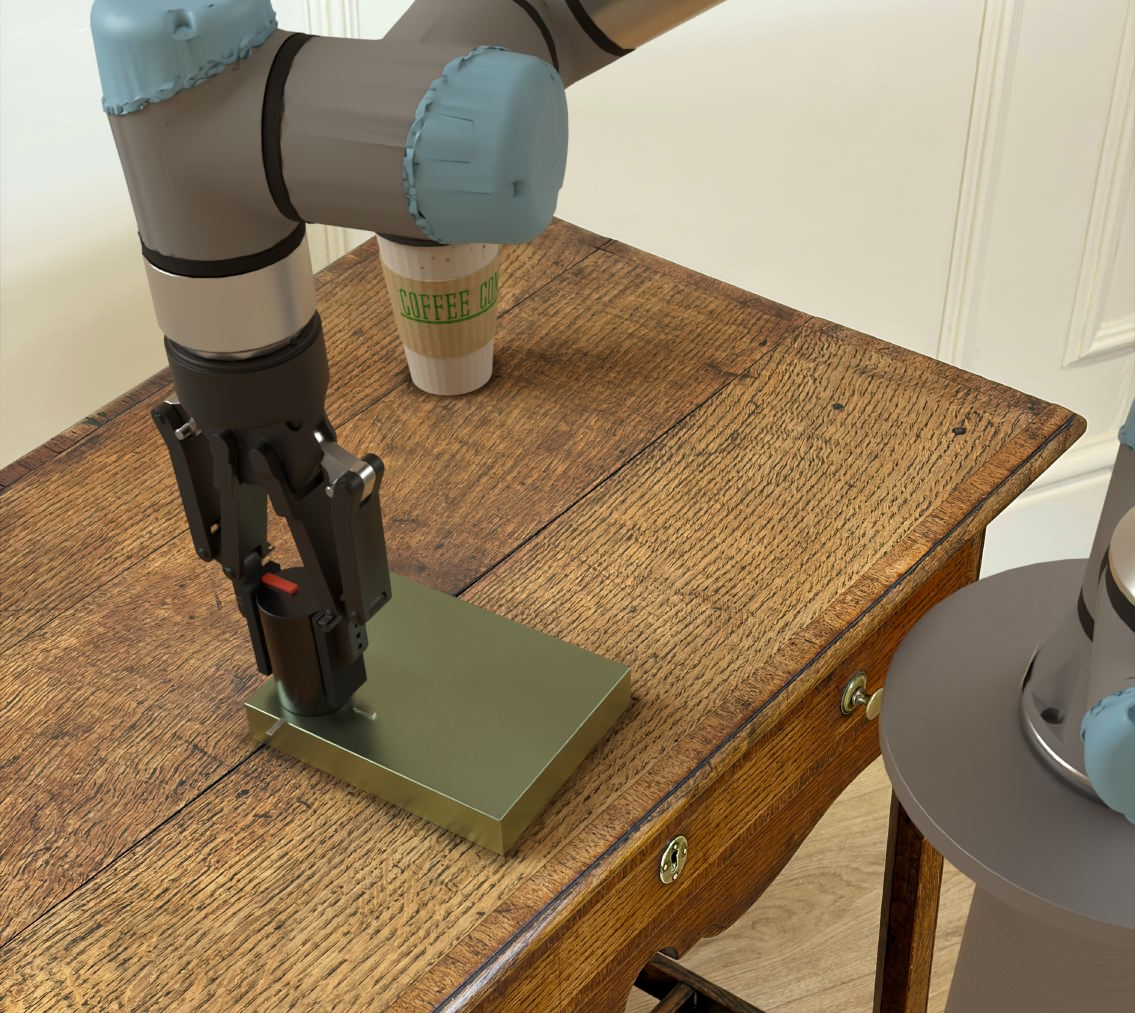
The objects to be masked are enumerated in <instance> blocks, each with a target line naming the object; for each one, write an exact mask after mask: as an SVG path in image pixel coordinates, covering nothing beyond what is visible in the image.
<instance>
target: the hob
mask: <svg viewBox="0 0 1135 1013" xmlns="http://www.w3.org/2000/svg"><path fill="white" fill-rule="evenodd" d="M389 575H390V583H391V591H392V598H391V599H390V600H389V601H388V602H387V603H386V604H385V605H384V606H383V607H382V608H381V609H380V610H379V611H378V612H377V613H376V614H375V615H374V616H373V617H372V618H371V619H370V620H369V621H368V622H367V623H366V631H367V636H368V642H369V644H368V647H367V649H366V650H365V651H364V652H363V657H364V663H365V669H366V675H367V681H366V682H365V683H364V684H363V685H362V686H361V687H360V688H359V689H358V690H357V691H356V692H355V693H354V694H353V695H352V696H351V697H350V698H349V699H348V700H347V701H346V702H345V703H344V704H343V705H342V706H340V707H339V708H337V709H335V710H333V711H331V712H329V713H325V714H321V715H314V716H307V715H300V714H296V713H293V712H291V711H289V710H288V709H286V708H285V707H284V706H283V705H282V704H281V702H280V700H279V698H278V693H277V689H276V685H275V680H274V676H273V675H271V677H270V678H269V679H268V680H267V681H266V682H265V683H264V684H263V685H262V686H261V687H260V688H259V689H258V690H256V691H255V692H254V693H253V694H252V695H251V696H250V697H248V698H247V700H246V701H245V702H244V703H243V705H244V708H245V713H246V717H247V721H248V725H249V728H250V732H251V733H250V734H251V737H252V739H253V740H255V741H257V742H259V743H261V744H264V745H266V746H268V747H270V748H272V749H275V751H276V750H277V751H279V752H281V753H283V754H285V755H287V756H289V757H291V758H293V759H296V760H298V761H300V762H302V763H304V764H306V765H309V766H311V767H313V768H315V769H317V770H318V771H321V772H323V773H325V774H328V775H330V776H332V777H334V778H336V779H338V780H340V781H342V782H344V783H347V784H349V785H351V786H353V787H355V788H357V789H360V790H361V791H364V792H366V793H368V794H370V795H372V796H374V797H376V798H379V799H381V800H383V801H385V802H386V803H389V804H391V805H394V806H395V807H398V808H399V809H402V810H404V811H406V812H408V813H410V814H412V815H414V816H416V817H419V818H421V819H424V820H425V821H427V822H429V823H432V824H434V825H436V826H438V827H440V828H442V829H444V830H446V831H448V832H451V833H452V834H455V835H457V836H460V837H461V838H463V839H466V840H468V841H470V842H472V843H473V844H476V845H479V846H480V847H482V848H485V849H487V850H489V851H491V852H493V853H495V854H497V855H500V856H502V857H503V856H505V855H506V853H507V852H508V851H509V850H510V849H511V847H512V846H513V845H514V844H515V843H516V842H517V840H519V838H520V837H521V835H523V833H524V832H525V830H526V829H528V827H529V826H530V825H531V823H532V822H533V821H534V820H535V818H536V817H537V816H538V815H539V814H540V813H541V811H543V809H544V808H545V807H546V806H547V804H548V803H549V802H550V801H551V799H552V798H553V797H554V796H555V795H556V794H557V792H559V790H560V789H561V787H562V786H563V785H564V784H565V782H566V781H567V780H568V779H569V778H570V777H571V776H572V775H573V773H574V772H575V771H576V769H578V767H579V766H580V765H581V764H582V762H584V760H585V759H586V757H588V756H589V754H590V753H591V752H592V751H593V749H594V748H595V747H596V746H597V744H598V743H599V742H600V741H601V740H602V738H603V737H604V736H605V735H606V734H607V733H608V731H609V730H610V729H611V728H612V726H613V725H615V723H616V722H617V721H618V719H619V718H620V717H621V716H622V715H623V713H624V712H625V711H626V710H627V709H628V708H629V707H630V705H631V704H632V668H631V667H630V666H628V665H626V664H623V663H620V662H619V661H615V660H614V659H611V658H608V657H605V656H603V655H601V654H598V653H596V652H593V651H590V650H588V649H585V648H583V647H581V646H578V645H576V644H573V643H571V642H568V641H565V640H563V639H561V638H558V637H555V636H553V635H551V634H548V633H546V632H543V631H542V630H539V629H536V628H533V627H531V626H528V625H526V624H524V623H521V622H519V621H516V620H513V619H511V618H508V617H506V616H503V615H501V614H499V613H496V612H494V611H491V610H489V609H486V608H484V607H481V606H478V605H476V604H474V603H472V602H470V601H469V602H468V601H466V600H463V599H462V598H458V597H457V596H453V595H452V594H449V593H446V592H444V591H441V590H439V589H436V588H434V587H431V586H429V585H426V584H423V583H422V582H421V583H420V582H419V581H416V580H414V579H411V578H409V577H406V576H404V575H402V574H398V573H396V572H393V571H392V570H389Z"/></svg>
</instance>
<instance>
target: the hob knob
mask: <svg viewBox="0 0 1135 1013" xmlns="http://www.w3.org/2000/svg"><path fill="white" fill-rule="evenodd" d="M262 581H263V582H262V583H261V584H260V586H259V588H258V590H257V593H256V601H257V605H258V610H259V614H260V619H261V623H262V627H263V632H264V636H265V641H266V645H267V649H268V654H269V658H270V663H271V667H272V671H273V673H272V676H274V680H275V685H276V689H277V693H278V698H279V700H280V702H281V704H282V705H283V706H284V707H285V708H286V709H288V710H289V711H291V712H293V713H296V714H300V715H307V716H314V715H321V714H325V713H329V712H331V711H333V710H335V709H337V707H335V706H333V705H331V704H328V699H327V694H326V689H325V684H324V679H323V673H322V668H321V663H320V658H319V653H318V648H317V643H316V638H315V633H314V628H313V623H312V617H313V616H314V615H315V614H317V613H318V612H319V611H320V610H321V608H320V606H319V603H318V601H317V598H316V595H315V593H314V590H313V588H312V585H311V583H310V580H309V577H308V575H307V572H306V570H305V567H304V566H293V567H292V566H291V567H287V568H284V569H281V570H280V571H278V572H276V573H274V574H270V573H267V574H266V575H265V576H263V577H262ZM341 706H342V705H341Z"/></svg>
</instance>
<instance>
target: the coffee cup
mask: <svg viewBox="0 0 1135 1013" xmlns="http://www.w3.org/2000/svg"><path fill="white" fill-rule="evenodd" d="M374 233H375V236H376V240H377V244H378V248H379V250H378V251H379V252H378V257H379V261H380V265H381V268H382V272H383V277H384V281H385V285H386V288H387V293H388V296H389V300H390V305H391V308H392V313H393V316H394V320H395V325H396V329H397V332H398V335H399V339H400V341H401V342H402V344H403V349H404V353H405V357H406V361H407V365H408V369H409V373H410V377H411V381H412V382H413V384H414V385H415V386H416V387H417V388H418V389H420V390H422V391H423V392H425V393H428V394H431V395H432V394H433V395H435V396H436V395H437V396H446V397H447V396H448V397H449V396H459V395H465V394H468V393H472V392H474V391H476V390H478V389H480V388H481V387H483V386H484V385H485V384H487V383H488V382H489V380H490V379H491V377H492V374H493V362H494V341H495V335H496V332H497V323H498V322H497V321H498V305H499V304H498V303H499V287H500V286H499V284H500V270H501V269H500V268H501V251H502V250H501V248H502V247H501V244H486V243H470V244H462V243H459V244H458V245H450V244H441V243H439V242H437V241H433V240H427V239H420V238H413V237H406V236H399V235H393V234H386V233H379V232H374Z"/></svg>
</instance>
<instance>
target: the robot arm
mask: <svg viewBox="0 0 1135 1013" xmlns="http://www.w3.org/2000/svg"><path fill="white" fill-rule="evenodd" d="M725 2H727V0H414V1H413V3H411V4H410V6H409V7H408V8H407V9H406V11H405V12H404V13H403V14H402V15H401V16H400V17H399V19H398V20H397V21H396V22H395V23H394V24H393V25H392V26H391V28H389V30H388V31H386V33H385V34H384V36H383V37H382V38H379V39H371V38H370V39H369V38H368V39H367V38H353V37H341V36H326V35H319V34H311V33H306V32H303V31H302V32H300V31H294V30H293V31H292V30H291V31H290V30H286V29H283V28H279V21H278V20H277V18H276V17H277V12H276V11H275V10H274V8H273V5H272V1H271V0H93V3H92V6H91V9H90V15H89V23H90V24H89V25H90V31H91V36H92V37H91V38H92V42H93V47H94V53H95V58H96V64H97V70H98V76H99V80H100V81H99V82H100V86H101V93H102V96H101V99H100V102H101V106H102V111H103V113H105V115H106V117H107V120H108V124H109V127H110V130H111V134H112V137H113V140H114V145H115V148H116V151H117V155H118V159H119V161H120V166H121V168H122V172H123V177H124V179H125V183H126V187H127V191H128V194H129V199H130V202H131V207H132V210H133V215H134V218H135V221H136V226H137V228H138V229H137V236H138V238H139V242H140V246H141V256H142V260H143V265H144V268H145V273H146V277H147V281H148V285H149V290H150V295H151V299H152V300H151V301H152V304H153V308H154V312H155V317H156V322H157V326H158V328H160V330H161V332H162V333H163V346H164V350H165V354H166V357H167V361H168V364H169V370H170V374H171V379H172V383H173V386H174V392H173V393H172V394H171V395H169V396H168V397H166V398H165V399H164V400H163V401H161V402H160V403H159V404H157V405H156V406H154V407H153V408H152V409H151V410H150V416H151V418H152V421H153V423H154V425H155V426H156V429H157V430H158V432H159V434H160V436H161V438H162V440H163V441H164V443H165V445H166V447H167V451H168V454H169V459H170V462H171V465H172V470H173V474H174V478H175V480H176V485H177V488H178V492H179V496H180V498H181V502H182V506H183V510H184V514H185V518H186V522H187V525H188V529H189V532H190V536H191V540H192V543H193V547H194V548H193V549H194V551H195V553H196V555H197V556H198V558H199V559H200V560H201V561H203V562H205V563H211V562H212V561H215V562H217V563H219V564H220V565H221V569H222V570H221V571H222V573H223V574H224V575H225V577H226V578H227V579H228V580H229V581H231V584H232V588H233V593H234V596H235V600H236V605H237V608H238V611H239V613H240V615H241V617H242V618H244V619H245V620H246V624H247V628H248V632H249V636H250V641H251V645H252V650H253V654H254V659H255V664H256V667H257V672H258V673H259V674H262V675H264V676H266V677H270V676H272V675H273V671H272V667H271V663H270V658H269V654H268V649H267V645H266V641H265V636H264V632H263V627H262V623H261V619H260V614H259V610H258V605H257V601H256V593H257V590H258V588H259V586H260V584H261V583H262V582H263V581H262V577H263V576H265V575H266V574H267V573H270V574H274V573H276V572H278V571H280V570H282V566H281V564H280V563H279V562H276V561H274V560H271V559H269V560H268V561H266V563H265V564H263V560H264V559H265V558H267V557H268V556H269V555H270V554H271V553H272V552H274V550H275V549H276V546H275V545H273V546H272V544H271V542H268V508H269V507H268V506H269V505H268V503H269V502H268V501H270V503H271V507H272V509H273V511H274V513H275V515H276V516H278V517H279V518H284V519H285V520H286V523H287V526H288V528H289V531H290V534H291V536H292V539H293V542H294V543H295V546H296V549H297V552H298V555H299V556H300V559H301V562H302V564H303V567H305V570H306V572H307V575H308V577H309V580H310V583H311V585H312V588H313V590H314V593H315V595H316V598H317V601H318V603H319V606H320V608H321V610H320V611H319V612H318V613H317V614H315V615H314V616H313V617H312V623H313V628H314V633H315V638H316V643H317V648H318V653H319V658H320V663H321V668H322V673H323V679H324V684H325V689H326V694H327V699H328V704H331V705H333V706H335V707H337V708H339V707H340V706H341V705H343V704H344V703H345V702H346V701H347V700H348V699H349V698H350V697H351V696H352V695H353V694H354V693H355V692H356V691H357V690H358V689H359V688H360V687H361V686H362V685H363V684H364V683H365V682H366V681H367V675H366V669H365V663H364V657H363V652H364V651H365V650H366V649H367V647H368V644H369V642H368V636H367V631H366V623H367V622H368V621H369V620H370V619H371V618H372V617H373V616H374V615H375V614H376V613H377V612H378V611H379V610H380V609H381V608H382V607H383V606H384V605H385V604H386V603H387V602H388V601H389V600H390V599H391V598H392V591H391V583H390V575H389V571H390V569H389V562H388V553H387V545H386V544H387V543H386V539H385V531H384V522H383V515H382V514H383V513H382V507H381V500H380V489H381V486H382V482H383V477H384V474H385V470H386V466H385V464H384V463H385V462H384V461H383V460H382V458H381V457H380V456H378V455H377V454H376V453H373V452H368V453H366V454H365V455H364V456H363V457H361V459H359V458H358V457H357V456H355V455H354V454H353V453H352V452H350V451H349V450H347V449H346V448H344V447H343V446H342V445H340V444H339V443H338V435H337V431H336V430H335V427H334V425H333V424H332V422H331V420H330V419H329V417H328V414H327V412H326V406H325V404H326V398H327V397H326V396H327V393H328V392H327V391H328V388H329V385H330V384H329V383H330V374H331V373H330V372H331V371H330V365H329V359H328V352H327V346H326V340H325V333H324V328H323V322H322V318H321V315H320V312H319V311H318V310H317V306H318V297H317V291H316V284H315V279H314V278H315V277H314V272H313V265H312V259H311V253H310V252H311V251H310V246H309V239H308V234H307V225H316V224H317V225H323V226H330V227H331V226H332V227H338V228H344V229H350V230H351V229H352V230H359V231H365V232H373V233H375V232H379V233H386V234H393V235H399V236H406V237H413V238H420V239H427V240H433V241H437V242H439V243H441V244H450V245H458V244H459V243H462V244H470V243H486V244H500V245H507V246H521V245H525V244H528V243H529V242H530V243H531V242H533V241H534V240H535V239H537V238H538V237H539V236H541V235H542V234H543V233H544V232H545V230H546V229H547V228H548V226H549V225H550V223H551V222H552V219H553V218H554V215H555V214H556V210H557V207H558V197H559V192H560V190H562V188H563V186H564V181H565V175H566V169H567V162H568V152H569V138H570V137H569V136H570V135H569V134H570V133H569V130H570V129H569V110H568V108H569V107H568V101H567V95H566V90H567V89H568V88H570V86H572V85H574V84H576V83H578V82H579V81H581V80H583V79H585V78H587V77H589V76H590V75H592V74H594V73H596V72H598V71H600V70H601V69H604V68H605V67H607V66H609V65H611V64H613V63H615V62H616V61H618V60H620V59H621V58H624V57H625V56H628V55H629V54H631V53H632V52H634V51H636V50H637V49H638V48H640V47H642V46H644V45H645V44H648V43H650V42H651V41H653V40H655V39H657V38H659V37H660V36H662V35H664V34H666V33H668V32H671V31H672V30H674V29H675V28H678V27H679V26H681V25H684V24H686V23H687V22H689V21H691V20H693V19H695V18H696V17H698V16H700V15H702V14H704V13H706V12H708V11H709V10H711V9H713V8H715V7H717V6H719V5H720V4H723V3H725ZM1117 439H1118V442H1119V446H1118V450H1117V453H1116V457H1115V461H1114V464H1113V468H1112V472H1111V475H1110V478H1109V483H1108V487H1107V490H1106V494H1105V498H1104V501H1103V505H1102V508H1101V512H1100V516H1099V520H1098V523H1097V526H1096V531H1095V534H1094V538H1093V542H1092V545H1091V549H1090V553H1089V557H1088V558H1089V560H1088V564H1087V567H1086V571H1085V575H1084V579H1083V583H1082V587H1081V591H1080V594H1079V598H1078V601H1077V602H1076V604H1075V605H1074V606H1073V607H1072V609H1071V610H1070V611H1069V613H1068V614H1067V615H1066V616H1065V618H1064V619H1063V620H1062V622H1061V623H1060V624H1059V625H1058V627H1057V628H1056V629H1055V630H1054V632H1053V633H1052V634H1051V636H1050V637H1049V638H1048V639H1047V641H1046V642H1045V643H1044V645H1043V646H1042V647H1041V648H1040V650H1039V651H1038V652H1037V654H1036V655H1035V657H1034V659H1033V661H1032V658H1033V656H1034V653H1035V651H1036V648H1037V646H1038V644H1037V646H1036V648H1035V651H1034V653H1033V655H1032V657H1031V659H1030V662H1029V664H1028V667H1027V669H1026V672H1025V674H1024V677H1025V678H1024V677H1023V679H1024V682H1023V686H1022V690H1021V694H1020V698H1019V704H1018V717H1019V724H1020V728H1021V731H1022V734H1023V737H1024V739H1025V741H1026V743H1027V745H1028V747H1029V749H1030V750H1031V752H1032V753H1033V755H1034V756H1035V758H1036V759H1037V760H1038V761H1039V762H1040V764H1041V765H1042V766H1043V767H1044V768H1045V769H1046V770H1047V771H1048V772H1049V773H1050V774H1051V775H1052V776H1054V777H1055V778H1056V779H1057V780H1058V781H1059V782H1061V783H1062V784H1064V785H1065V786H1066V787H1068V788H1069V789H1071V790H1072V791H1074V792H1076V793H1077V794H1079V795H1080V796H1082V797H1084V798H1086V799H1088V800H1090V801H1092V802H1094V803H1096V804H1099V805H1101V806H1103V807H1106V808H1109V809H1112V810H1114V811H1117V812H1120V813H1122V814H1124V815H1125V817H1126V818H1127V819H1128V820H1129V821H1130V822H1132V823H1133V824H1135V397H1133V400H1132V402H1131V405H1130V408H1129V410H1128V413H1127V417H1126V419H1125V421H1124V424H1122V425H1121V426H1120V427H1119V429H1118V432H1117ZM268 498H269V499H268ZM215 525H216V528H215V529H213V530H212V528H213V527H214V526H215ZM271 546H272V547H271ZM270 547H271V548H270ZM1039 641H1040V640H1039ZM1038 643H1039V642H1038ZM1031 661H1032V662H1031ZM1030 663H1031V664H1030ZM1023 679H1022V681H1023ZM1021 683H1022V682H1021ZM1020 685H1021V684H1020ZM1019 688H1020V687H1019ZM1018 690H1019V689H1018Z"/></svg>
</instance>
